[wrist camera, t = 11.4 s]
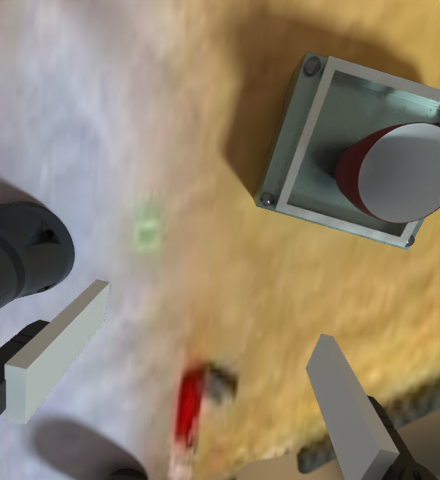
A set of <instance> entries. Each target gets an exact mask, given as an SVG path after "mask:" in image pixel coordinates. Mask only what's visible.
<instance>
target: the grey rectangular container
mask: <svg viewBox="0 0 440 480" xmlns="http://www.w3.org/2000/svg"><path fill="white" fill-rule="evenodd" d="M412 122H426V123H432V124H433V123H440V90H439V89H436V88H433V87H430V86H426V85H423V84H420V83H417V82H413V81H410V80H407V79H404V78H401V77H397V76H394V75H391V74H388V73H384V72H381V71H378V70H375V69H371V68H368V67H365V66H362V65H358V64H355V63H352V62H349V61H346V60H342V59H339V58H336V57H333V56H329V57H328V58H326V57H322V56H319V55H316V54H313V53H310V52H306V54H305V55H304V57H303V58H302V60H301V61H300V63H299V64H298V66H297V67H296V69H295V70H294V72H293V74H292V78H291V81H290V84H289V87H288V90H287V93H286V96H285V99H284V103H283V106H282V109H281V112H280V115H279V118H278V121H277V124H276V128H275V131H274V134H273V137H272V140H271V143H270V146H269V149H268V153H267V156H266V159H265V162H264V165H263V168H262V171H261V174H260V178H259V181H258V184H257V187H256V190H255V193H254V196H253V199H254V202H255V204H256V206H257V207H261V208H264V209H268V210H271V211H275V212H278V213H281V214H285V215H288V216H292V217H295V218H299V219H302V220H305V221H309V222H312V223H316V224H319V225H323V226H326V227H329V228H333V229H336V230H340V231H343V232H347V233H350V234H354V235H357V236H360V237H364V238H367V239H371V240H374V241H378V242H381V243H384V244H388V245H391V246H395V247H398V248H402V249H405V250H408V249H409V247H410V246H411V245H412V244H413V243H414V241H415V236H416V234H417V232H418V230H419V228H420V226H421V225H422V223H423V221H424V219H425V218H423V219H420V220H417V221H414V222H410V223H401V224H397V223H389V222H385V221H382V220H379V219H376V218H374V217H371V216H369V215H367V214H365V213H363V212H362V211H360V210H359V209H357V208H356V207H355V206H354V205H353V204H352V203H351V202H350V201H349V200H348V199H347V198H346V197H345V196H344V195H343V194H342V193H341V191H340V190H339V188H338V186H337V184H336V180H335V170H336V166H337V163H338V161H339V159H340V157H341V156H342V154H343V153H344V152H345V151H346V150H347V149H348V148H349V147H350V146H352V145H353V144H355V143H356V142H358V141H360V140H362V139H363V138H365V137H367V136H369V135H370V134H372V133H374V132H376V131H378V130H381V129H384V128H387V127H390V126H394V125H399V124H405V123H412Z"/></svg>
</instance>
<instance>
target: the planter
mask: <svg viewBox="0 0 440 480" xmlns="http://www.w3.org/2000/svg"><path fill="white" fill-rule="evenodd" d="M105 480H147V478H146V477H145V476H144V475H143V474H141V473H139V472H137V471H135V470H130V469H122V470H119V471H117V472H115V473H114V474H113V475H112V476H111V477H109V478H107V479H105Z"/></svg>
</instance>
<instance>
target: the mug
mask: <svg viewBox="0 0 440 480" xmlns="http://www.w3.org/2000/svg"><path fill="white" fill-rule="evenodd" d="M335 180H336V184H337V186H338V188H339V190H340V191H341V193H342V194H343V195H344V196H345V197H346V198H347V199H348V200H349V201H350V202H351V203H352V204H353V205H354V206H355V207H356V208H357V209H359V210H360V211H362V212H363V213H365V214H367V215H369V216H371V217H374V218H376V219H379V220H382V221H385V222H389V223H397V224H401V223H410V222H414V221H417V220H420V219H423V218H425V217H427V216H428V215H430V214H432V213H433V212H435V211H436V210H437V209H439V208H440V123H433V124H432V123H426V122H412V123H405V124H399V125H394V126H390V127H387V128H384V129H381V130H378V131H376V132H374V133H372V134H370V135H369V136H367V137H365V138H363V139H362V140H360V141H358V142H356V143H355V144H353V145H352V146H350V147H349V148H348V149H347V150H346V151H345V152H344V153H343V154H342V156H341V157H340V159H339V161H338V163H337V166H336V170H335Z"/></svg>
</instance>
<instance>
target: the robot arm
mask: <svg viewBox="0 0 440 480" xmlns="http://www.w3.org/2000/svg"><path fill="white" fill-rule="evenodd" d="M74 258H75V252H74V245H73V242H72V239H71V236H70V234H69V232H68V231H67V229H66V227H65V226H64V225H63V223H62V222H61V221H60V220H59V219H58V218H57V217H56V216H55V215H54V214H52V213H51V212H50V211H48V210H46V209H45V208H43V207H41V206H38V205H36V204H33V203H28V202H11V203H6V204H1V205H0V308H1V307H3V306H5V305H6V304H7V303H9V302H11V301H12V300H14V299H16V298H20V297H24V296H28V295H32V294H36V293H40V292H44V291H47V290H49V289H51V288H53V287H54V286H56V285H57V284H59V283H60V282H61V281H63V280H64V279H65V278H66V277H67V276H68V275H69V273H70V271H71V270H72V267H73V264H74ZM109 284H110V282H106V281H102V280H98V279H97V280H96V281H95V282H93V283H92V284H91V285H90V286H89V287H88V288H87V289H86V290H85V291H84V292H83V293H82V294H80V295H79V296H78V297H77V298H76V299H75V300H74V301H73V302H72V303H71V304H70V305H68V306H67V307H66V308H65V309H64V310H63V311H62V312H61V313H60V314H59V315H58V316H57V317H55V318H54V319H53V320H52V321H51V322H47V321H43V320H38V321H36V322H33V323H31V324H29V325H27V326H26V327H25V328H23V329H22V330H21V331H20V332H19V333H18V334H17V335H15V336H14V337H13V338H11V339H10V341H8V342H7V343H5V344H4V345H3V346H2V347H1V348H0V415H1V414H2V413H3V411H4V410H5V421H10V422H15V423H19V424H24V425H25V424H26V423H27V422H28V420H29V419H30V418H31V416H32V415H33V414H34V412H35V411H36V410H37V409H38V407H39V406H40V405H41V403H42V402H43V401H44V399H45V398H46V397H47V395H48V394H49V393H50V392H51V390H52V389H53V388H54V386H55V385H56V384H57V382H58V381H59V380H60V378H61V377H62V376H63V375H64V373H65V372H66V371H67V369H68V368H69V367H70V365H71V364H72V363H73V361H74V360H75V359H76V358H77V356H78V355H79V354H80V352H81V351H82V350H83V348H84V347H85V346H86V344H87V343H88V342H89V341H90V339H91V338H92V337H93V335H94V334H95V333H96V331H97V330H98V329H99V327H100V326H101V325H102V324H103V322H104V321H105V314H106V306H107V299H108V291H109ZM306 371H307V373H308V376H309V379H310V382H311V385H312V388H313V390H314V393H315V396H316V399H317V402H318V404H319V407H320V410H321V413H322V416H323V419H324V421H325V424H326V427H327V430H328V433H329V436H330V438H331V441H332V444H333V447H334V450H335V452H336V455H337V458H338V461H339V464H340V466H341V469H342V472H343V475H344V478H345V480H438V479H437V478H436V477H435V476H434V475H433V474H432V473H431V472H430V471H429V470H428V469H427V468H425V467H423V466H422V465H420V464H419V463H416V462H415V460H414V459H413V457H412V455H411V454H410V452H409V450H408V449H407V447H406V445H405V444H404V442H403V440H402V439H401V437H400V435H399V434H398V432H397V430H396V429H394V425H393V424H392V422H391V420H389V417H388V416H387V414H386V412H385V411H384V409H383V407H382V406H381V405H380V404H379V403H378V402H377V401H376V400H375V399H374V398H373V397H371V396H367V395H366V393H365V392H364V390H363V388H362V386H361V384H360V383H359V381H358V379H357V377H356V376H355V374H354V372H353V370H352V369H351V367H350V365H349V363H348V362H347V360H346V358H345V356H344V355H343V353H342V351H341V349H340V348H339V346H338V344H337V342H336V341H335V339H334V337H333V336H329V335H325V334H321V335H320V338H319V340H318V342H317V344H316V347H315V349H314V351H313V353H312V355H311V358H310V360H309V362H308V364H307V367H306Z"/></svg>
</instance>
